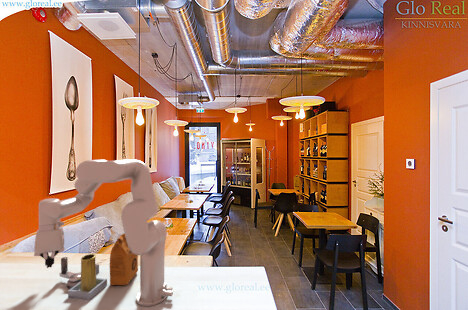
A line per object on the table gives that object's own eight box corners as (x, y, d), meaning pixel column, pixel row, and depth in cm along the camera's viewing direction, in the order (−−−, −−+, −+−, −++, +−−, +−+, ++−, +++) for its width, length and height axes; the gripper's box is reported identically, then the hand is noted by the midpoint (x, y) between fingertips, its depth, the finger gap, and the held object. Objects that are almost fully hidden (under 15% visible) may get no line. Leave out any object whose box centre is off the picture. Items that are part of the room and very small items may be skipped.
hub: (89, 280, 104) (89, 275, 104) (77, 289, 97) (77, 285, 97) (76, 278, 105) (76, 274, 105) (63, 287, 98) (63, 283, 98)
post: (99, 272, 111) (99, 264, 110) (96, 274, 109) (96, 266, 109) (95, 272, 111) (95, 264, 111) (93, 274, 109) (92, 266, 109)
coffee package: (141, 272, 111) (141, 229, 110) (126, 288, 99) (126, 239, 98) (122, 271, 112) (122, 228, 111) (106, 286, 100) (105, 238, 99)
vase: (84, 295, 92) (84, 261, 92) (77, 290, 95) (77, 257, 95) (99, 287, 97) (99, 255, 97) (92, 283, 101) (92, 252, 100)
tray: (107, 285, 101) (106, 279, 101) (89, 300, 91) (89, 293, 91) (87, 282, 102) (87, 276, 102) (68, 297, 92) (68, 290, 92)
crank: (87, 276, 103) (87, 259, 103) (75, 283, 98) (74, 265, 97) (68, 271, 107) (68, 255, 107) (55, 278, 102) (55, 260, 101)
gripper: (71, 221, 107) (71, 258, 108) (30, 226, 100) (30, 266, 100) (69, 226, 101) (69, 266, 102) (25, 232, 93) (25, 274, 94)
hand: (49, 266), depth 101 cm, fingers closed
